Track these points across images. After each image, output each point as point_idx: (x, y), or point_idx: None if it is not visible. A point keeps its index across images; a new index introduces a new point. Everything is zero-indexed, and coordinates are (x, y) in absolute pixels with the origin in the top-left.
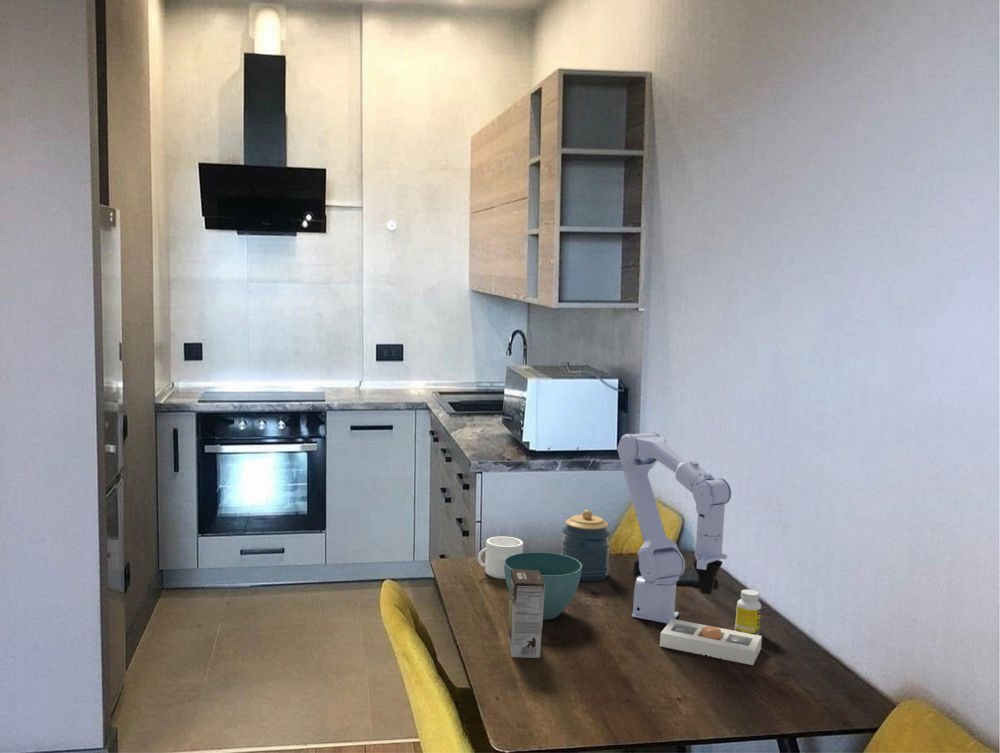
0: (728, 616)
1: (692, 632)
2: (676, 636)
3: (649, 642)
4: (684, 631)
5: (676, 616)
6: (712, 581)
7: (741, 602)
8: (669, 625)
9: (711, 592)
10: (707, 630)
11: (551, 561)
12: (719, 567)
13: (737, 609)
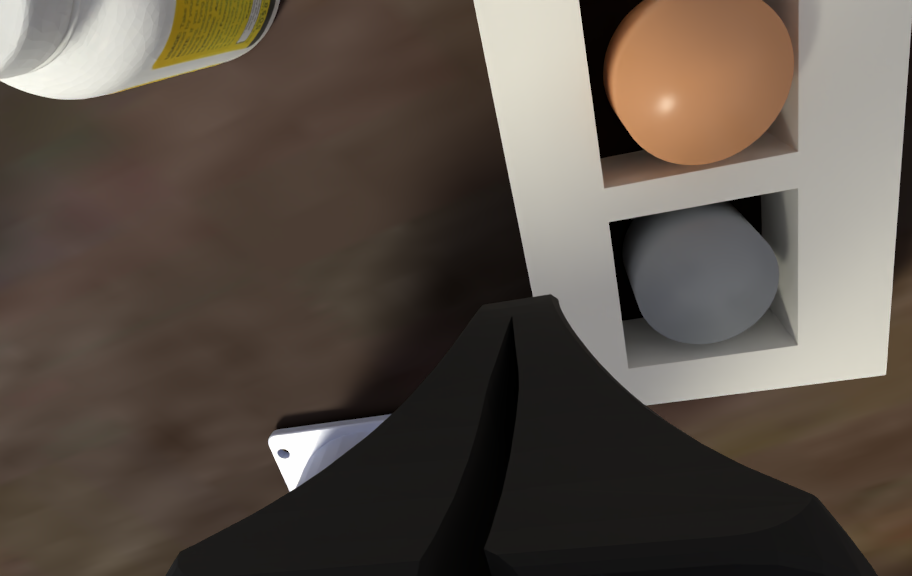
0: (31, 211)
1: (713, 218)
2: (893, 269)
3: (807, 388)
4: (754, 265)
5: (328, 425)
6: (614, 379)
7: (119, 22)
8: (696, 383)
9: (490, 305)
10: (750, 102)
11: None
12: (435, 526)
13: (174, 56)
